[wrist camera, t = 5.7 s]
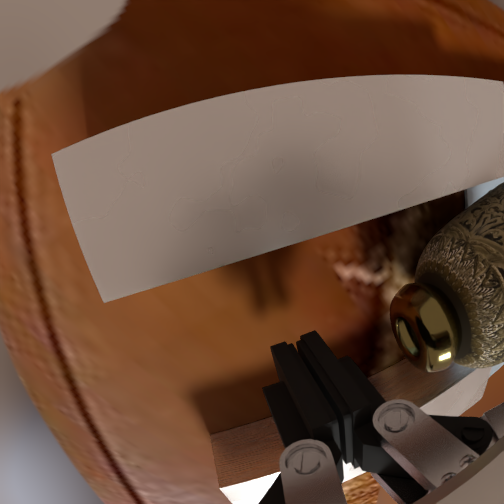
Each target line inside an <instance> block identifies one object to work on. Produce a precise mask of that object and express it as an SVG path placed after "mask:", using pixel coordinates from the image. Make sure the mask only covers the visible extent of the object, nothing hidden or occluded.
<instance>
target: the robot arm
mask: <svg viewBox="0 0 504 504" xmlns="http://www.w3.org/2000/svg"><path fill="white" fill-rule="evenodd" d="M300 339H301V340H299V341H297V342H296V345H297V349H298V352H297V350H296V348H295V347H294V345H293V344H292V343H291V344H288V345H287V343H286V342H282V343H279V344H276V345H273V346H270V348H271V352H272V356H273V359H274V363H275V366H276V370H277V373H278V377H279V380H280V382H278V383H275V384H272V385H269V386H266V387H263V388H262V389H263V392H264V395H265V398H266V401H267V403H268V406H269V409H270V412H271V414H272V417H273V420H274V422H275V425H276V427H277V430H278V433H279V435H280V438H281V440H282V443H283V445H284V448H285V450H284V451H283V452H282V455H281V457H280V462H279V466H280V473H279V475H278V476H277V478H276V479H275V481H274V482H273V484H272V485H271V486H270V488H269V489H268V491H267V492H266V494H265V495H264V496H263V498H262V499H261V501H260V502H259V503H258V504H347V502H346V499H345V495H344V492H343V489H342V485H341V484H342V482H343V480H344V471H343V461H344V462H345V464H348V463H351V464H352V466H353V467H354V469H356V468H358V467H360V468H361V470H362V471H366V472H370V473H371V474H372V476H373V477H374V479H375V480H376V481H377V482H378V483H379V484H380V485H381V486H382V487H383V488H384V489H385V490H386V491H387V493H388V494H389V495H390V496H391V497H392V498H393V499H394V500H395V501H396V502H397V503H398V504H504V402H503V403H502V404H500V405H498V406H496V407H494V408H493V409H491V410H489V411H487V412H485V413H484V414H483V416H482V417H480V418H478V417H460V416H440V415H427V414H426V413H425V412H424V411H422V410H421V409H420V408H419V407H417V406H416V405H415V404H413V403H411V402H410V401H407V400H403V399H395V400H391V401H388V402H386V400H385V399H384V398H383V397H382V396H381V394H380V393H379V392H378V391H377V389H376V388H375V387H374V386H373V385H372V383H371V382H370V381H369V380H368V378H367V377H366V376H365V375H364V374H363V372H362V371H361V370H360V369H359V367H358V366H357V365H356V364H355V363H354V361H353V360H352V359H351V358H350V357H349V356H345V357H342V358H340V359H337V358H336V356H335V355H334V354H333V353H332V351H331V350H330V349H329V347H328V346H327V345H326V343H325V342H324V341H323V339H322V338H321V337H320V335H319V334H318V333H317V332H316V331H315V330H314V331H312V332H309V333H307V334H304V335H301V336H300Z"/></svg>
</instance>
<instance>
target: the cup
mask: <svg viewBox="0 0 504 504" xmlns="http://www.w3.org/2000/svg"><path fill="white" fill-rule="evenodd" d="M390 320H391V325H392V329H393V333H394V336H395V338H396V341H397V343H398V345H399V347H400V349H401V351H402V352H403V354H404V355H405V357H406V358H407V359H408V361H409V362H410V363H411V364H412V365H413V366H414V367H415V368H417V369H418V370H420V371H422V372H425V373H433V372H439V371H443V370H445V369H446V368H448V367H449V366H450V365H451V363H452V362H455V363H457V364H459V365H461V366H464V367H468V368H487V367H492V366H495V365H498V364H500V363H503V362H504V182H503V183H501V184H499V185H498V186H496V187H495V188H494V189H492V190H490V191H488V193H486V194H485V195H484V196H482V197H481V198H480V199H478V200H477V201H476V202H474V203H473V204H472V205H470V206H469V207H468V208H466V209H465V210H464V211H462V212H461V213H460V214H458V215H457V216H456V217H454V218H453V219H452V220H451V221H449V222H448V223H447V224H446V225H445V226H444V227H443V228H441V229H440V230H439V231H438V232H437V233H436V234H435V235H434V236H433V237H432V239H431V240H430V241H429V243H428V244H427V245H426V247H425V248H424V250H423V252H422V254H421V256H420V259H419V261H418V265H417V268H416V273H415V283H409V284H406V285H404V286H403V287H402V288H401V289H400V290H399V291H398V292H397V294H396V295H395V296H394V298H393V300H392V302H391V306H390Z"/></svg>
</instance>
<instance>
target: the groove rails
mask: <svg viewBox="0 0 504 504" xmlns="http://www.w3.org/2000/svg"><path fill="white" fill-rule="evenodd" d="M52 158H53V162H54V166H55V170H56V173H57V177H58V181H59V184H60V187H61V191H62V194H63V197H64V201H65V204H66V207H67V210H68V213H69V216H70V219H71V222H72V225H73V228H74V230H75V233H76V236H77V239H78V241H79V244H80V247H81V249H82V252H83V255H84V257H85V260H86V262H87V265H88V267H89V270H90V272H91V274H92V277H93V279H94V282H95V284H96V286H97V288H98V291H99V293H100V295H101V297H102V300H103V302H104V303H105V302H109V301H112V300H115V299H118V298H122V297H125V296H128V295H131V294H135V293H138V292H141V291H144V290H148V289H151V288H154V287H157V286H160V285H164V284H167V283H170V282H173V281H177V280H180V279H183V278H186V277H190V276H193V275H196V274H199V273H202V272H206V271H209V270H212V269H215V268H218V267H222V266H225V265H228V264H231V263H234V262H238V261H241V260H244V259H247V258H250V257H254V256H257V255H260V254H263V253H266V252H270V251H273V250H276V249H279V248H282V247H286V246H289V245H292V244H295V243H298V242H301V241H305V240H308V239H311V238H314V237H317V236H320V235H324V234H327V233H330V232H333V231H336V230H339V229H343V228H346V227H349V226H352V225H355V224H358V223H361V222H365V221H368V220H371V219H374V218H377V217H380V216H383V215H387V214H390V213H393V212H396V211H399V210H402V209H405V208H409V207H412V206H415V205H418V204H421V203H424V202H427V201H430V200H433V199H437V198H440V197H443V196H446V195H449V194H452V193H455V192H458V191H461V190H465V189H468V188H471V187H474V186H477V185H480V184H483V183H486V182H489V181H492V180H495V179H499V178H502V177H504V84H503V82H502V81H495V80H487V79H478V78H468V77H456V76H440V75H370V76H352V77H339V78H328V79H319V80H310V81H302V82H295V83H288V84H281V85H275V86H269V87H263V88H258V89H252V90H247V91H242V92H237V93H233V94H228V95H224V96H219V97H215V98H211V99H207V100H203V101H199V102H195V103H191V104H188V105H184V106H180V107H177V108H173V109H170V110H166V111H163V112H160V113H157V114H153V115H150V116H147V117H144V118H141V119H138V120H135V121H132V122H129V123H127V124H124V125H121V126H118V127H116V128H113V129H110V130H108V131H105V132H102V133H100V134H97V135H95V136H92V137H90V138H87V139H85V140H83V141H80V142H78V143H75V144H73V145H71V146H69V147H66V148H64V149H62V150H60V151H58V152H55V153H53V154H52ZM491 369H492V367H487V368H468V367H464V366H461V365H459V364H457V363H455V362H452V363H451V365H450V366H449V367H448V368H446V369H445V370H443V371H439V372H433V373H425V372H422V371H420V370H418V369H417V368H415V367H414V366H413V365H412V364H411V363H410V362H409V361H408V359H407V358H406V359H404V360H402V361H400V362H398V363H396V364H395V365H393V366H391V367H389V368H387V369H385V370H383V371H381V372H379V373H377V374H375V375H373V376H371V377H368V380H369V381H370V382H371V383H372V385H373V386H374V387H375V388H376V389H377V391H378V392H379V393H380V394H381V396H382V397H383V398H384V399H385V400H386V402H388V401H391V400H395V399H403V400H407V401H410V402H411V403H413V404H415V405H416V406H417V407H419V408H420V409H421V410H422V411H424V412H425V413H426V414H427V415H440V416H459V415H460V414H462V413H463V412H465V411H466V410H467V409H469V408H470V407H471V406H472V405H474V404H475V403H476V402H477V401H479V400H480V399H481V398H482V396H483V393H484V390H485V387H486V384H487V381H488V378H489V375H490V372H491ZM210 439H211V444H212V450H213V456H214V461H215V467H216V472H217V477H218V483H219V488H220V489H221V491H222V492H223V493H224V494H225V495H226V497H227V498H228V499H229V500H230V501H231V502H232V503H233V504H258V503H259V502H260V501H261V499H262V498H263V496H264V495H265V494H266V492H267V491H268V489H269V488H270V486H271V485H272V484H273V482H274V481H275V479H276V478H277V476H278V475H279V473H280V466H279V462H280V457H281V455H282V452H283V451H284V450H285V448H284V445H283V443H282V440H281V438H280V435H279V433H278V430H277V427H276V425H275V422H274V420H273V417H269V418H266V419H263V420H260V421H257V422H254V423H251V424H247V425H244V426H241V427H237V428H234V429H230V430H226V431H223V432H219V433H215V434H211V435H210ZM343 471H344V480H343V482H345V481H347V480H349V479H352V478H354V477H356V476H358V475H360V474H362V473H365V472H366V471H362V470H361V468H360V467H358V468H356V469H354V467H353V466H352V464H351V463H348V464H345V462H344V461H343ZM343 482H342V483H343Z"/></svg>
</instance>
